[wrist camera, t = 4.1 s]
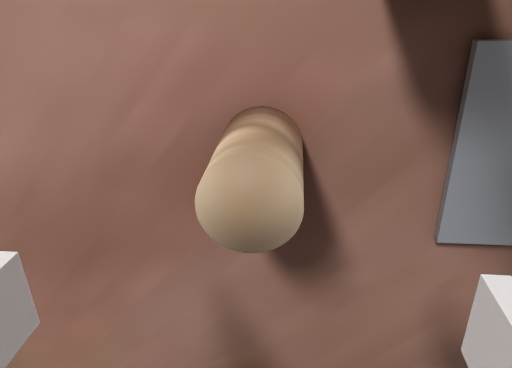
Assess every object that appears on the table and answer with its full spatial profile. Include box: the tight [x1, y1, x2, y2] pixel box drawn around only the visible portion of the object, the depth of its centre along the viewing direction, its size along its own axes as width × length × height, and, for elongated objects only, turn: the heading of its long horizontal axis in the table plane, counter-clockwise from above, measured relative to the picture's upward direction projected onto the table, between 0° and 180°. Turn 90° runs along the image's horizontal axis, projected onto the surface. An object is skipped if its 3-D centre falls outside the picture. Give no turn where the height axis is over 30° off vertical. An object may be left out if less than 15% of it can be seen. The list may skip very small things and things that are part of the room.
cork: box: [195, 106, 304, 253], centre depth 20 cm, size 4×4×7 cm
